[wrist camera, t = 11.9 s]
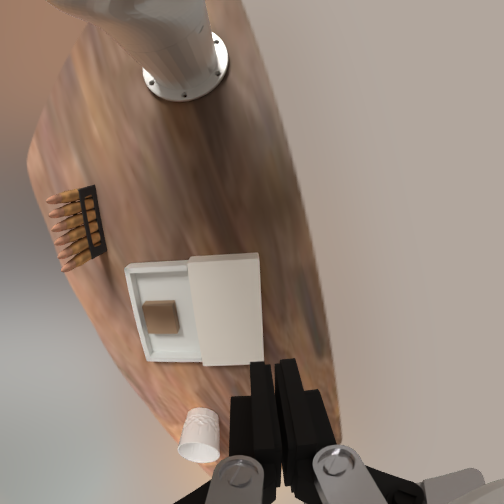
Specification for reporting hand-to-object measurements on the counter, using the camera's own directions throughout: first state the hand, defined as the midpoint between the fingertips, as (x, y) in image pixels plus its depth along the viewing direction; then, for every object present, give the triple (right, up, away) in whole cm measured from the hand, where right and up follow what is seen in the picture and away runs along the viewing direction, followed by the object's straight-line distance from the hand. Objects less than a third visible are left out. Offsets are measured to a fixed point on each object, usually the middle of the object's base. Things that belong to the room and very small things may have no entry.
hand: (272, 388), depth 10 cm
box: (-15, -4, +34) cm, 37 cm away
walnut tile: (-15, -5, +32) cm, 36 cm away
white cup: (-11, -29, +42) cm, 52 cm away
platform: (-4, -4, +34) cm, 35 cm away
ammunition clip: (-25, +10, +30) cm, 40 cm away
